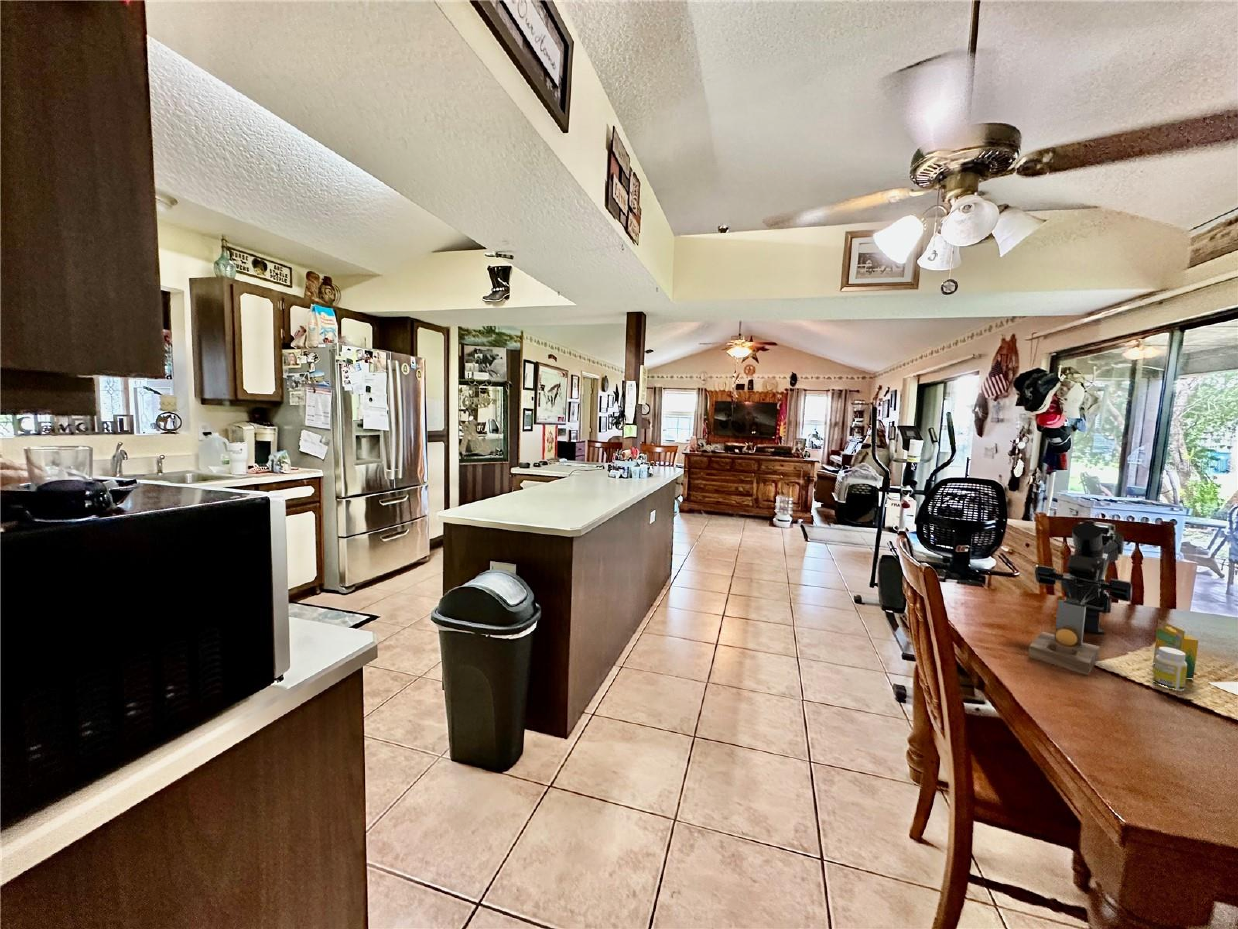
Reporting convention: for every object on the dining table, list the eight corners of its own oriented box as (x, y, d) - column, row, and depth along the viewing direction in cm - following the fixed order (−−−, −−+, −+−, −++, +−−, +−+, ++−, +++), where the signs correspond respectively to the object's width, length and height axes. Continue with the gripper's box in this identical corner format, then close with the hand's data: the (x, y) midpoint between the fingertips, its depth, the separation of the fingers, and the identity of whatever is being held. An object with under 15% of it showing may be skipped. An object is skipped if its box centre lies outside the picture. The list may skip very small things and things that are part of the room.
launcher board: (1041, 642, 130) (1042, 631, 129) (1098, 658, 121) (1099, 646, 121) (1028, 657, 121) (1029, 645, 121) (1088, 675, 112) (1089, 663, 112)
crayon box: (1194, 681, 111) (1200, 633, 110) (1178, 679, 111) (1184, 631, 110) (1167, 665, 118) (1172, 620, 117) (1152, 664, 118) (1157, 619, 117)
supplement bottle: (1174, 682, 110) (1178, 647, 109) (1190, 693, 105) (1195, 657, 105) (1147, 679, 111) (1150, 644, 111) (1162, 689, 107) (1166, 653, 106)
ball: (1051, 640, 124) (1053, 625, 124) (1071, 642, 123) (1072, 627, 123) (1059, 646, 120) (1061, 631, 120) (1079, 649, 119) (1081, 634, 119)
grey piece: (1056, 635, 126) (1060, 595, 125) (1082, 642, 122) (1086, 600, 121) (1054, 638, 125) (1058, 597, 124) (1080, 645, 121) (1084, 602, 120)
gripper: (1039, 537, 135) (1025, 582, 129) (1135, 551, 121) (1125, 603, 115) (1043, 559, 141) (1030, 604, 135) (1135, 576, 126) (1126, 626, 120)
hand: (1074, 608), depth 126 cm, fingers closed
